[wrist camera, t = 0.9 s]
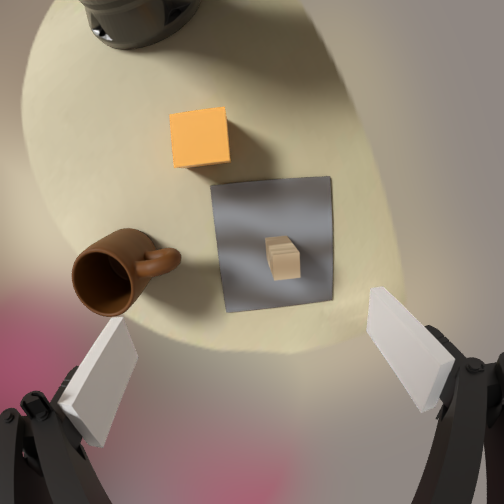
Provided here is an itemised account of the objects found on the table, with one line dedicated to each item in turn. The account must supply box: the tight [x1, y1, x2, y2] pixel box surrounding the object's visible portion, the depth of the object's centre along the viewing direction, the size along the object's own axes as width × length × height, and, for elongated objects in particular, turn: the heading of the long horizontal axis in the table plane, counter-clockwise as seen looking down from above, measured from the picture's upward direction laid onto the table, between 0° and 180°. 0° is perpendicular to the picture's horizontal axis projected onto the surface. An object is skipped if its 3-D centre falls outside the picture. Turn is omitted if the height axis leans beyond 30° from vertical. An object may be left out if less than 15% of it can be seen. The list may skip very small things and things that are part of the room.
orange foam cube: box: [170, 107, 231, 168], centre depth 27 cm, size 5×5×7 cm
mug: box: [72, 228, 181, 317], centre depth 29 cm, size 12×8×9 cm, turn 104°
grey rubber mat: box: [210, 176, 333, 312], centre depth 31 cm, size 16×14×7 cm
